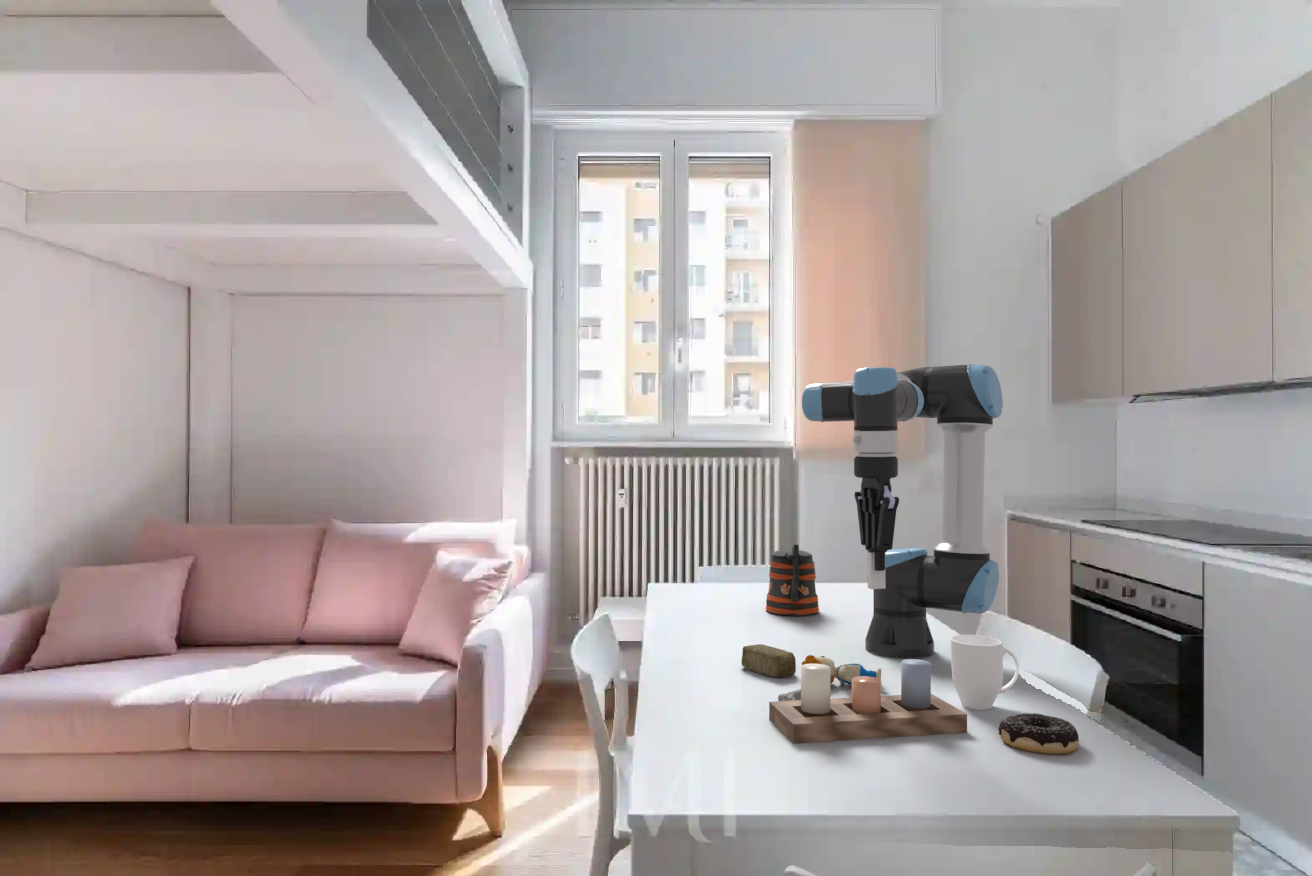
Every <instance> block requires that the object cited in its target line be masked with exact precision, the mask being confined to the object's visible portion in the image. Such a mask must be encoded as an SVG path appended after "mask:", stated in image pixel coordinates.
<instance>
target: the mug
mask: <svg viewBox="0 0 1312 876" xmlns="http://www.w3.org/2000/svg"><path fill="white" fill-rule="evenodd" d="M949 640H950V662H951V663H950V664H951V677H952V681H953V684H954V685H953V686H954V687H955V690H956V692H957V695H958V698H959V700H960V703H961V705H962V706H963V708H964V707H965V708H966V709H971V710H977V711H984V710H985V711H987V710H990V709H992V707H993V706H994V703H995V700H996V699H997V697H998V695H999V694H1002V693H1005V692H1007V691H1009V690H1010V689H1011V688H1012V687H1013V686H1014V685H1015V684H1016V682H1017V680H1018V677H1019V673H1020V669H1019V662H1018V660H1017V657H1016V655H1015V654H1014V653H1013V652H1012V651H1010V650H1009V649H1008V647H1005V646H1003V642H1002V641H1001V640H1000V639H999V638H995V637H991V636H986V635H979V634H958V635H952V636H950V638H949ZM1005 654H1008V655H1009V656H1011V657H1012V659H1013V660H1014V663H1015V671H1014V672H1015V673H1014V675H1013V677H1012V679H1011V680H1009V682H1007V684H1005V685H1004V686H1003V679H1004V678H1003V675H1004V673H1003V671H1004V667H1003V666H1004V662H1003V661H1004V655H1005Z"/></svg>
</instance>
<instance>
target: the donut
mask: <svg viewBox="0 0 1312 876" xmlns="http://www.w3.org/2000/svg"><path fill="white" fill-rule="evenodd" d="M998 735H999V736H1000V739H1001V741H1003V742H1004V743H1006V744H1007V745H1008V746H1011V747H1012V748H1016V749H1018V750H1022V751H1026V752H1032V753H1036V754H1043V755H1044V754H1046V755H1066V754H1071V753H1073V752H1075V751H1077V748H1078V747H1079V741H1080V740H1079V733H1078V731H1077V729H1076V727H1075V725H1073V724H1072V723H1071V722H1070V721H1068V720H1066V719H1063V718H1060V717H1055V716H1052V715H1051V716H1050V715H1046V714H1042V713H1020V714H1014V715H1009V716H1007V717H1005V718H1003V719H1001V721H1000V723H999V726H998Z"/></svg>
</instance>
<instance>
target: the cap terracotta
mask: <svg viewBox="0 0 1312 876" xmlns="http://www.w3.org/2000/svg"><path fill="white" fill-rule="evenodd" d="M881 696H882V680H880V679H878V678H874V677H868V676H858V677H853V678H852V686H851V697H852V711H853V712H854V713H856V714H871V713H881Z"/></svg>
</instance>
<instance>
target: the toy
mask: <svg viewBox="0 0 1312 876" xmlns="http://www.w3.org/2000/svg"><path fill="white" fill-rule="evenodd" d="M804 664H823V665H827V666H829V667H830V685H832V684H833V682H835V679H837V680H838V681H839V682H841V683H845V684H846V685H849V686H851V687H852V678H853V677H858V676H868V677H874V678H878V679H880V680H881V679H882V668H880V667H879V668H878V667H877V669H876V670H871V669H870V670H867V669H865V667H864V666H863V665H862V664H859V663H848V664H847V663H845V664H843V665H841V664H840V665H839V666H835V662H834V660H833V659H831V658H830V657H827V656H823V655H822V656H820V655H819V656H815V655H812V654H809V655H807V656H806V657H805V658H804V660H803V661H802V662H801V666H802V665H804ZM881 681H882V680H881Z"/></svg>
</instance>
